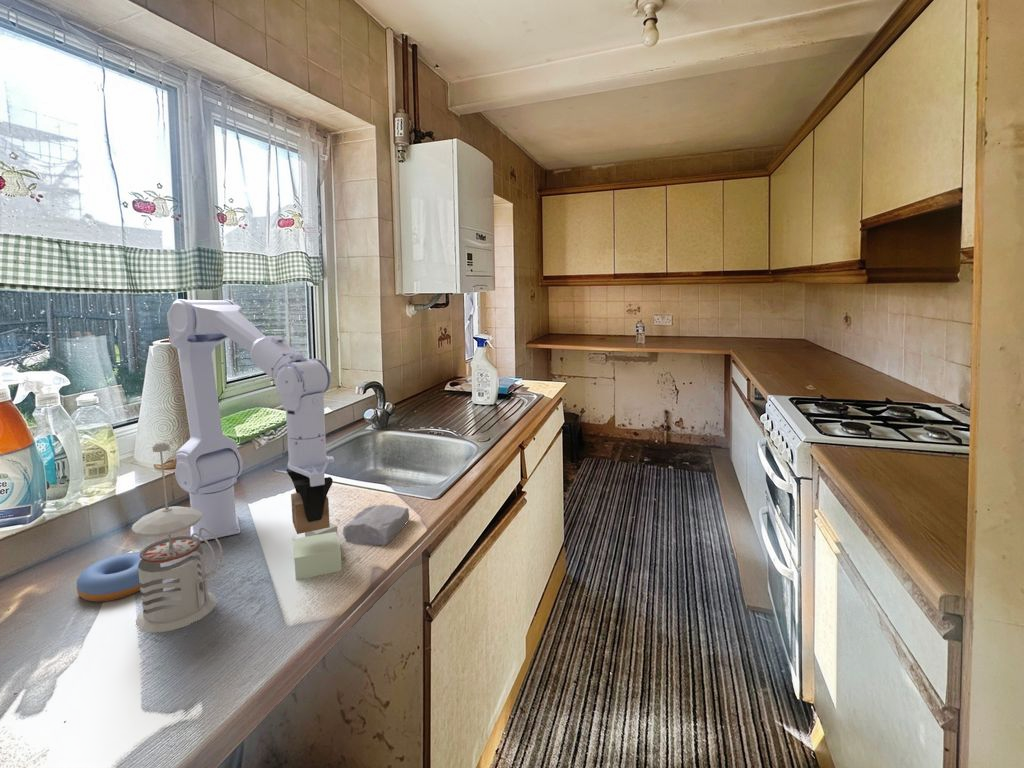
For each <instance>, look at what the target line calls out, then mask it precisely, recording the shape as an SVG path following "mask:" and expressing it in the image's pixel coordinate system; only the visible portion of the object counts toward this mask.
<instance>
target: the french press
mask: <svg viewBox="0 0 1024 768" xmlns="http://www.w3.org/2000/svg"><path fill="white" fill-rule="evenodd" d="M168 450H170V446H169V444H168V443H167V442H165V441H157V442H156V443H155V444H153V445H152V452H153V453H159V455H160V464H161V465H160V466H161V473H162V485H163V494H164V502H165V507H163V508H159V509H155V510H154V511H152V512H150V513H148V514H145V515H142V516H141V517H140V518H139V519H138V520H137V521H135V522H134V523H133V524H132V526H131V531H133V533H135V534H136V535H137V536H142V537H161V536H167V535H168V537H167V538H164V539H161V540H160V539H159V540H156V541H154V542H152V543H151V544H149V545H146V546H145V547H144V548H143V549H142V550H141V551H140V556H139V557H140V558H142V560H141V561H140V562H139V565H138V573H139V582H140V583H141V585H140V593H141V595H140V596H141V598H140V599H141V606H142V610H141V612H140V613H139V614H138V615H137V616H136V617H137V619H135V622H136V625H137V626H138V627H139V628H138V627H137V626H136V625H135V626H136V627H137V628H138V630H139V631H141V632H146V633H154V634H155V633H162V632H163V633H164V632H171V631H174V630H178V629H180V628H184V627H187V626H190V625H192V624H194V623H196V622H197V620H198V621H200V620H202V619H203V618H204V617H205V616H207V615H208V614H210V613H211V612H212V611H213V609H214V608H215V607H216V606H217V596H216V595H214V594H213V593H212V592H210V591H208V589H209V588H208V579H209V577H211V575H213V574H214V573H216V572H217V571H218V570H219V569H220V567H221V564H222V560H223V547H222V545H221V542H220V540H219V539H218V538H217V537H216V536H215V535H214V534H213V533H212V532H211V531H209V530H207V529H205V528H200V530H199V534H197V533H193V534H192V535H191V534H190V535H189V534H188V535H180V536H179V535H178V536H172V537H171V535H172V534H175V533H179V532H182V531H184V530H188V529H190V528H191V526H193V525H195V524H196V523H197V522H198V521H199V520H200V519H201V517H202V512H200V511H199V510H197V509H194V508H191V507H189V506H188V507H187V506H179V505H174V506H168V498H167V489H166V481H165V480H166V479H165V478H166V477H165V470H164V460H163V459H164V458H163V452H167V451H168ZM201 530H205V531H207V532H209V533H210V534H211V535H212V536H213V537H214V539H215V541H216V543H217V545H218V548H219V563H218V565H217V567H216V568H215V566H216V559H215V550H214V548H213V547H212V545H211V544H210V542H209V541H208V540H206V539H205V538H204V537H203V536H201ZM194 535H196V536H198V538H197V537H195V536H194ZM199 538H202V539H203V540H204V541H203V542H205V543H206V544H207V546H208V548H209V549H210V550H211V556H212V566H211V567H212V568H211V569H210V572H208V573H207V569H206V560H205V559H206V557H205V556H206V555H205V548H203V547H202V546H201V545H202V541H201V540H200V539H199ZM194 552H198V553H199V554H201V555H200V556H199V555H190V554H193V553H194ZM189 555H190V556H189ZM186 556H188V557H186ZM183 557H186V558H184V559H182V560H180V561H178V562H175V563H173V564H170V565H166V566H162V565H161V564H164V563H168V562H173V561H174V560H178V559H181V558H183ZM197 560H198V561H199V562H200V563H199V562H198V561H197ZM190 561H192V562H191V563H189V562H190ZM186 563H188V564H186ZM184 564H185V565H184ZM198 569H200V571H199V570H198ZM199 577H201V578H199ZM167 579H168V580H170V579H174V580H171V581H167V582H163V581H164V580H167ZM165 588H166V589H167V588H169V589H168V590H164V589H165ZM195 621H196V622H195ZM193 622H194V623H193ZM191 623H192V624H191Z"/></svg>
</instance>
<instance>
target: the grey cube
mask: <svg viewBox="0 0 1024 768" xmlns="http://www.w3.org/2000/svg"><path fill="white" fill-rule="evenodd" d="M329 524H330V527H329V528H324V529H320V530H315V531H310V532H305V533H304V537H308V536H314V535H319V534H325V533H331V532H336V533H337V537H338V526H337V525H336V524H334V523H333V522H330V521H329ZM338 538H339V537H338Z"/></svg>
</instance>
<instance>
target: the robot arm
mask: <svg viewBox="0 0 1024 768" xmlns="http://www.w3.org/2000/svg"><path fill="white" fill-rule="evenodd" d="M166 318H167V319H166V320H167V325H168V333H169V339H170V343H171V346H172V347H174V348H176V349H177V350H176V351H177V356H178V361H179V369H180V370H179V371H180V377H181V382H182V390H183V397H184V404H185V409H186V410H185V411H186V416H187V422H188V423H187V424H188V430H189V439H188V440H187V441H186V442H184V444H183V445H181V447H180V448H179V449H178V450H177V451H175V455H176V465H175V470H174V474H175V475H174V476H175V479H176V481H177V484H178V486H179V487H180V488H181V489H182V490H184V491H185V492H187V493H188V494H189V503H190V508H194V509H197V510H199V511H200V512H202V517H201V519H200V520H199V521H198V522H197V523H196V524H195V525H193V526H191V527H190V536H191V535H192V534H193V533H197V534H199V530H200V528H205V529H207V530H209V531H211V532H212V533H213V534H214V535H215V536H216V537H217V539H218V538H223V537H227V536H228V537H229V536H233V535H238V534H240V533H241V528H240V522H239V519H238V518H239V517H238V514H237V512H236V501H235V487H234V484H235V483H238V477H240V476H241V474H242V471H243V467H244V463H243V462H244V461H243V459H242V455H241V454H240V453H239V449H238V447H237V446H238V445H237V442H236V441H235V440H234V439H233V438H230V437H228V436H226V435H225V434H224V432H223V426H222V418H221V412H220V406H219V405H220V403H219V397H218V391H217V384H216V376H215V375H216V374H215V371H214V370H215V368H214V363H213V362H214V361H213V354H212V353H213V351H214V350H215V348H216V347H217V346H218V345H220V344H223V342H225V341H226V340H228V339H230V340H232V341H233V342H235V343H236V344H238V345H239V346H241V347H242V348H244V349H245V350H247V351H248V352H250V355H249V357H250V360H251V362H252V363H253V364H254V365H255V366H256V367H257V368H259V370H261V371H262V372H264V373H265V374H266V375H267V376H269V377H270V378H271V379H273V380H274V385H275V388H276V391H277V393H278V394H279V396H280V399H281V406H282V408H283V410H285V417H286V418H285V421H286V436H287V451H288V462H287V468H286V470H285V471H286V473H287V475H288V476H289V477H290V479H291V482H292V484H293V486H294V490H295V493H299V494H300V496H301V499H302V502H303V507H304V511H305V515H306V518H307V520H308V522H313V521H317V520H321V519H322V515H323V510H324V504H325V500H326V496H327V497H328V493H329V491H330V489H331V488H332V485H333V478H332V477H331V476H327V477H325V471H326V469H327V468H328V465H329V464H333V463H334V462H335V457H334V456H332V455H327V443H326V441H327V440H326V439H327V438H326V423H325V422H326V419H325V417H326V416H325V404H324V403H325V400H324V398H325V397H324V394H325V393H326V392H327V391H328V390H329V389H330V386H331V384H332V383H331V381H332V376H331V372H330V369H329V368H328V367H329V366H327V365H326V364H325V363H324V361H323V360H321V359H320V358H309V357H305V356H304V355H303V353H301V352H300V351H297V350H296V349H294V348H293V347H292V346H291V345H289V344H287V343H286V342H285V338H283V337H282V336H281V335H267V336H266V335H265V334H263V332H262V331H260V329H258V328H257V327H256V326H255V325H254V324H253V323H252V322H251V321H249V320H248V319H247V317H245V316H244V313H243V308H242V307H241V306H240V305H238V304H237V303H236V302H234V300H231V299H223V300H222V299H221V300H217V299H215V300H213V299H210V300H209V299H208V300H207V299H206V300H205V299H204V300H203V299H182V298H179V299H175V300H174V301H173V302H172V304H171V305H170V307H169V309H168V311H167V313H166ZM194 536H195V537H197V538H198V536H196V535H194ZM201 536H203V537H204V538H205V539H206V540H207V541H208V540H214V539H215V538H214V537H213V536H212V535H211V534H210V533H209V532H207V531H205V530H201ZM199 539H200V540H201V542H205V541H204V540H203V539H202V538H199Z"/></svg>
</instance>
